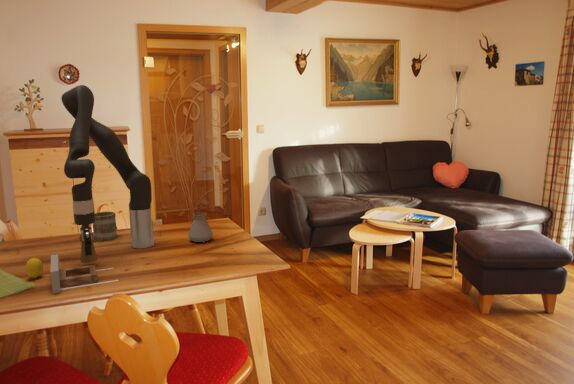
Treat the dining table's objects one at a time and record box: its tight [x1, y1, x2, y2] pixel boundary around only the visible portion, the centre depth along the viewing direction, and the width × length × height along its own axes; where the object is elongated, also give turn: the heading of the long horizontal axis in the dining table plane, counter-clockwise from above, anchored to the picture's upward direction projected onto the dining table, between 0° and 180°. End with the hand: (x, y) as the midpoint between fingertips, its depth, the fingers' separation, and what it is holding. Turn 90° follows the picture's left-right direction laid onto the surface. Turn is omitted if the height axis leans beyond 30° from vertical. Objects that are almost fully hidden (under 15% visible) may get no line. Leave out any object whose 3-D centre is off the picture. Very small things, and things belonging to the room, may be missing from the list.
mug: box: [92, 211, 118, 243], centre depth 222 cm, size 16×11×12 cm
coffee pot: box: [187, 202, 214, 243], centre depth 224 cm, size 21×12×15 cm, turn 12°
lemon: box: [25, 257, 44, 279], centre depth 173 cm, size 6×6×8 cm
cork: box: [78, 232, 98, 264], centre depth 184 cm, size 6×6×11 cm
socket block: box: [59, 264, 99, 289], centre depth 171 cm, size 12×12×3 cm
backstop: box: [49, 253, 119, 295], centre depth 171 cm, size 21×20×8 cm
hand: (88, 253), depth 185 cm, fingers closed on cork, 4 cm apart
